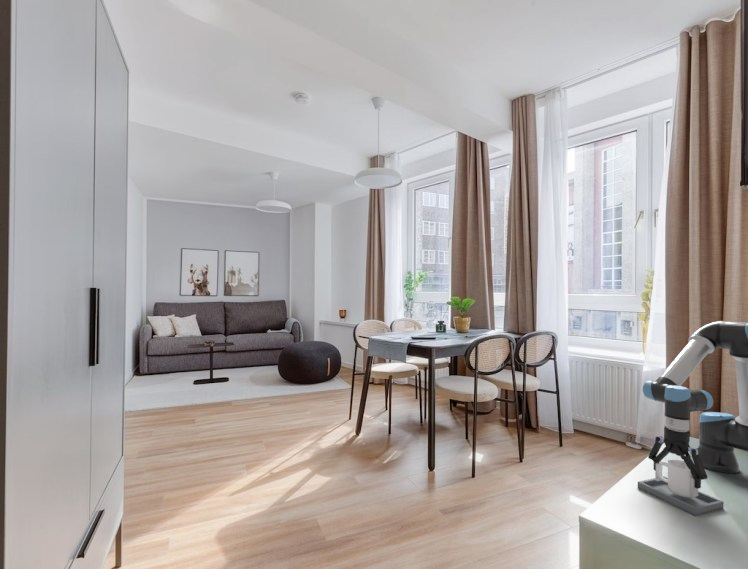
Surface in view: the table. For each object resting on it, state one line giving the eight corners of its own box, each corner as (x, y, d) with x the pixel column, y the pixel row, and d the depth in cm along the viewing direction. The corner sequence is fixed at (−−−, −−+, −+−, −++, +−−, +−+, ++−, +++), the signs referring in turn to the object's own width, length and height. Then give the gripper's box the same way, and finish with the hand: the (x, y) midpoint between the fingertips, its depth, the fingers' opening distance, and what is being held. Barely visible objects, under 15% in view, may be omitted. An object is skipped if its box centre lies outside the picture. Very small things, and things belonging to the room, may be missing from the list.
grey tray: (664, 482, 157) (664, 476, 158) (723, 509, 139) (723, 501, 139) (637, 488, 152) (637, 481, 152) (695, 516, 133) (695, 508, 133)
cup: (692, 500, 139) (692, 471, 139) (652, 486, 149) (652, 459, 149) (699, 494, 144) (699, 465, 144) (660, 480, 154) (661, 454, 154)
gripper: (638, 419, 157) (637, 475, 156) (707, 441, 134) (706, 506, 134) (651, 417, 159) (650, 472, 159) (721, 439, 137) (720, 502, 137)
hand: (675, 488), depth 146 cm, fingers closed on cup, 12 cm apart
